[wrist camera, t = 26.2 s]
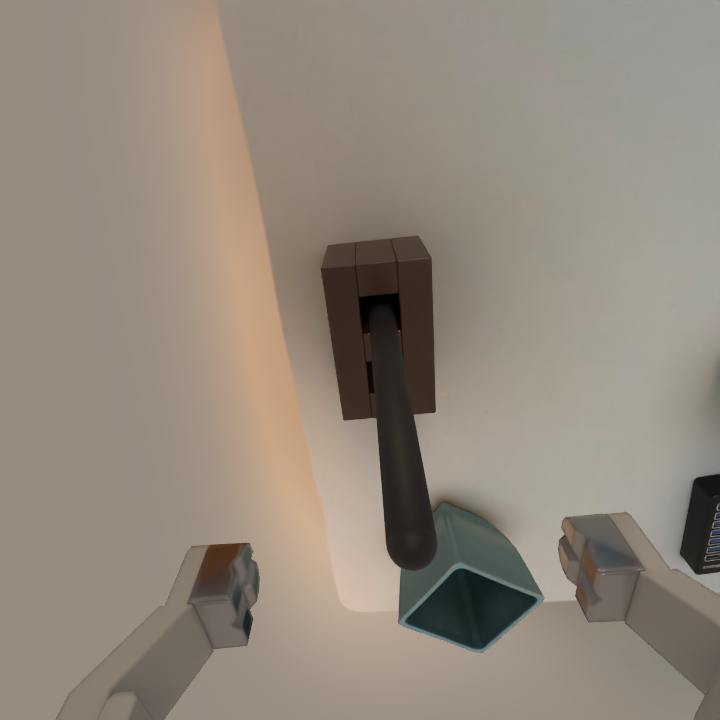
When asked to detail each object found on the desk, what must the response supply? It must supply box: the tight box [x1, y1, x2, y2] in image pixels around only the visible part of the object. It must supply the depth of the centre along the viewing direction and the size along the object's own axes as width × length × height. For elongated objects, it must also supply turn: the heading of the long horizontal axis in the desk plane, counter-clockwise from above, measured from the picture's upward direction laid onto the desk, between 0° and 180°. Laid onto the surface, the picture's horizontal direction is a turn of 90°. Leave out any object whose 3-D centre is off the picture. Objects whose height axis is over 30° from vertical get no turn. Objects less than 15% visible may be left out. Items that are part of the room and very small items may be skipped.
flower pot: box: [398, 503, 544, 653], centre depth 39 cm, size 9×9×9 cm
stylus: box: [367, 294, 437, 571], centre depth 22 cm, size 2×2×22 cm
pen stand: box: [321, 236, 436, 420], centre depth 30 cm, size 6×11×6 cm, turn 6°
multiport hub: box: [680, 475, 720, 575], centre depth 41 cm, size 4×11×2 cm, turn 12°
